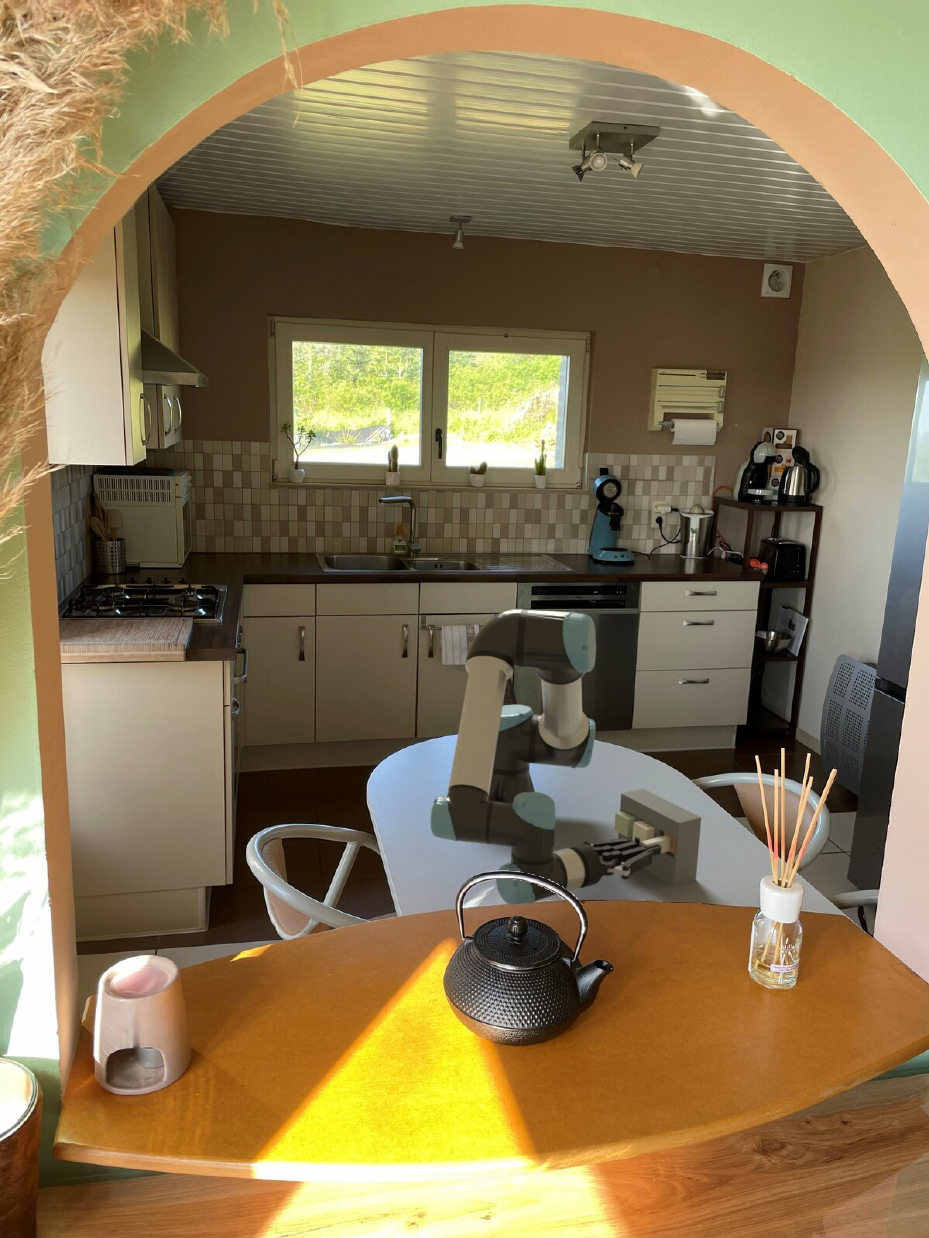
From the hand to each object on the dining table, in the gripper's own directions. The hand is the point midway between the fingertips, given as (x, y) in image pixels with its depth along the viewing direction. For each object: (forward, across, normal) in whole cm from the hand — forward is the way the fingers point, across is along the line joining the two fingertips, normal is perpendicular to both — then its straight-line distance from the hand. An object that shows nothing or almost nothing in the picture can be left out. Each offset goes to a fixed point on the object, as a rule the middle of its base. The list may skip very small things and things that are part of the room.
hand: (667, 842), depth 184 cm
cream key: (0, -6, -2) cm, 6 cm away
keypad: (+3, -6, -9) cm, 11 cm away
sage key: (0, -11, -2) cm, 11 cm away
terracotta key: (+3, 0, -2) cm, 3 cm away
